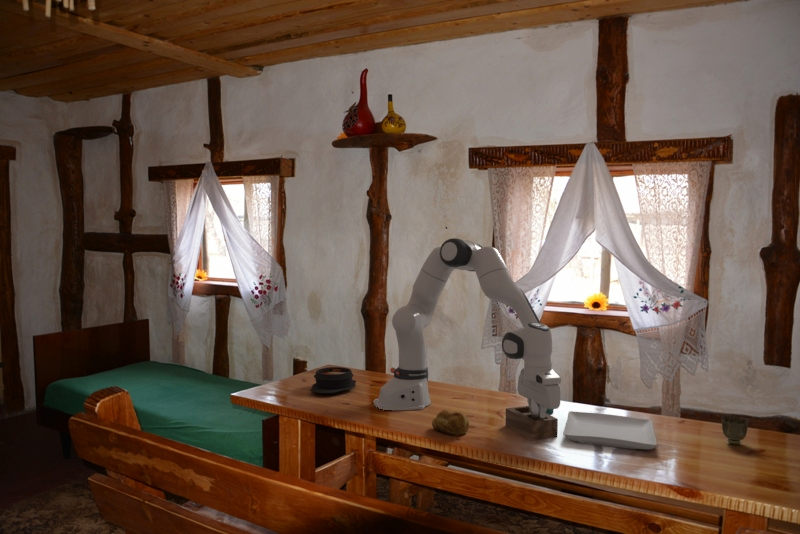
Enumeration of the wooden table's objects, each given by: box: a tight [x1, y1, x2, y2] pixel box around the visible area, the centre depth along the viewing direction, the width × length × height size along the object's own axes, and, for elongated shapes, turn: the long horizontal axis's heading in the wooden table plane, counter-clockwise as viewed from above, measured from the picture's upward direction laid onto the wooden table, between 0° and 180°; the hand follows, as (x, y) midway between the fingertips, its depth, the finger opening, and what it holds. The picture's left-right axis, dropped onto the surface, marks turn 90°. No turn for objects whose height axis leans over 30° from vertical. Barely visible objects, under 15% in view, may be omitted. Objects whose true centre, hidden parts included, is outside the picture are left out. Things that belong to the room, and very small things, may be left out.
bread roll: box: [431, 409, 470, 436], centre depth 191 cm, size 13×10×8 cm
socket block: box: [505, 405, 559, 442], centre depth 191 cm, size 10×16×6 cm, turn 19°
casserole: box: [309, 366, 357, 395], centre depth 245 cm, size 25×19×8 cm
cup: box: [720, 415, 749, 446], centre depth 179 cm, size 8×7×8 cm
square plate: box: [563, 410, 658, 451], centre depth 187 cm, size 27×27×4 cm
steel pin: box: [531, 397, 544, 420], centre depth 187 cm, size 4×4×10 cm
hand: (537, 415), depth 187 cm, fingers closed on steel pin, 4 cm apart
